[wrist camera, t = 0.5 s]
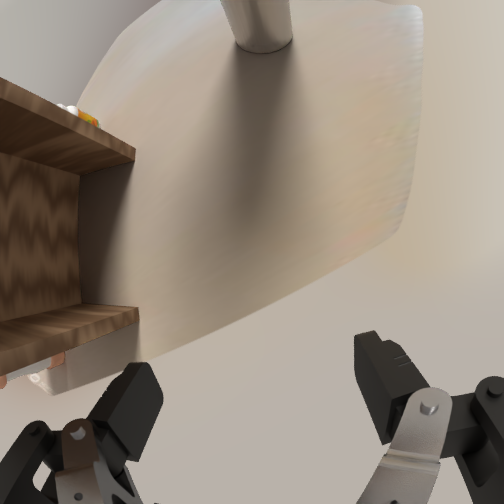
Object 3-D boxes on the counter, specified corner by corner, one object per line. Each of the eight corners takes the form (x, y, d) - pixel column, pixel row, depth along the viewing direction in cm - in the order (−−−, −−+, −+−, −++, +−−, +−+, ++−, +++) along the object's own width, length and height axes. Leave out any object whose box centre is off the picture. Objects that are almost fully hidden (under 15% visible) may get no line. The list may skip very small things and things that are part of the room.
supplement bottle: (92, 149, 39) (53, 132, 30) (76, 143, 40) (40, 128, 30) (105, 121, 39) (70, 100, 29) (88, 117, 39) (54, 98, 30)
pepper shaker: (42, 325, 42) (-29, 344, 23) (63, 337, 41) (-14, 363, 22) (45, 356, 42) (-20, 381, 24) (66, 369, 41) (-3, 401, 22)
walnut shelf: (75, 166, 40) (-74, 122, 8) (135, 148, 37) (-40, 58, 6) (77, 313, 40) (-80, 354, 8) (139, 320, 37) (-59, 398, 6)
